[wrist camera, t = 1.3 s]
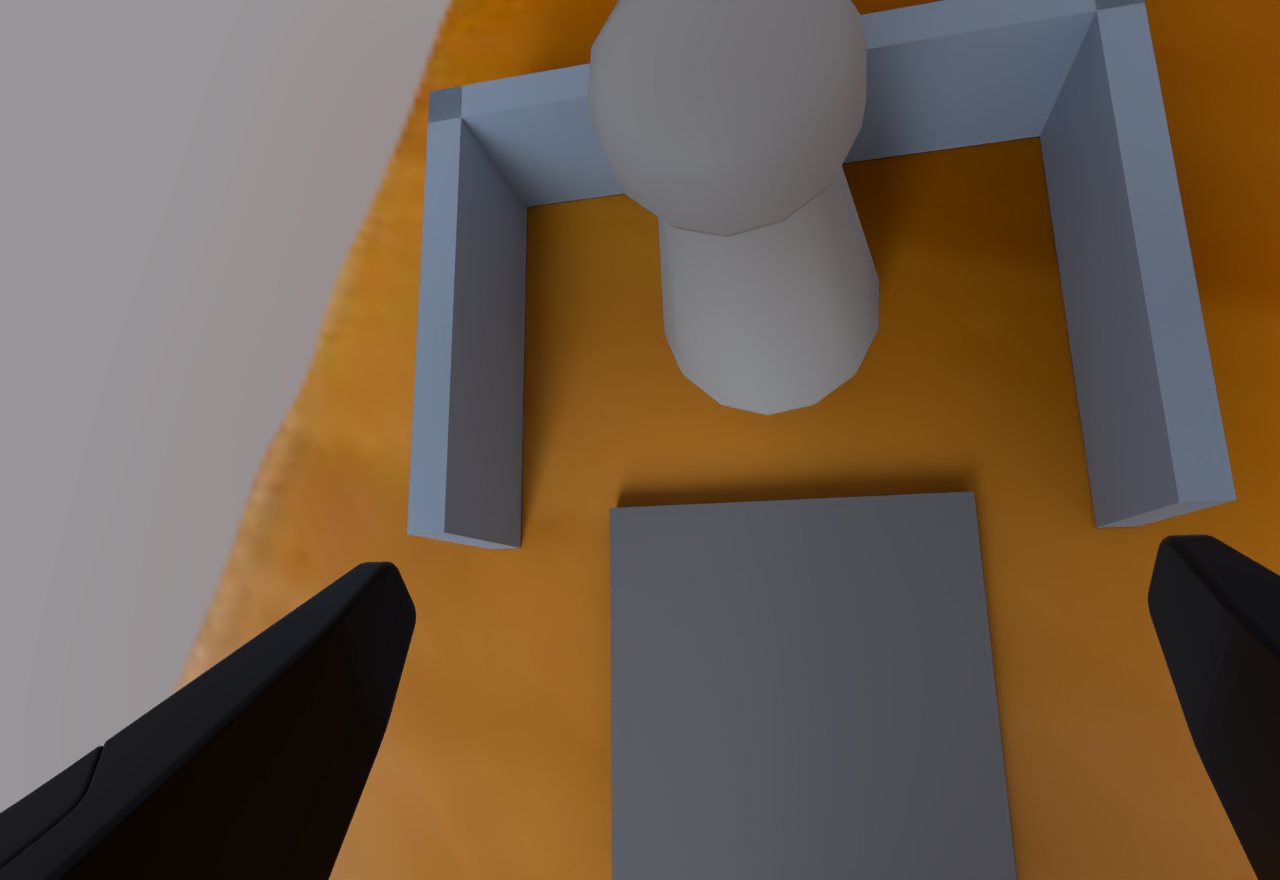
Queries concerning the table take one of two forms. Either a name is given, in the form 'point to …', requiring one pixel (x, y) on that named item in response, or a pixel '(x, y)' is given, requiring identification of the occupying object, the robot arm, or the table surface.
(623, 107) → the salt shaker
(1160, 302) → the cradle
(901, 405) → the table surface
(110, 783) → the robot arm
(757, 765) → the coaster
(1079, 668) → the table surface
